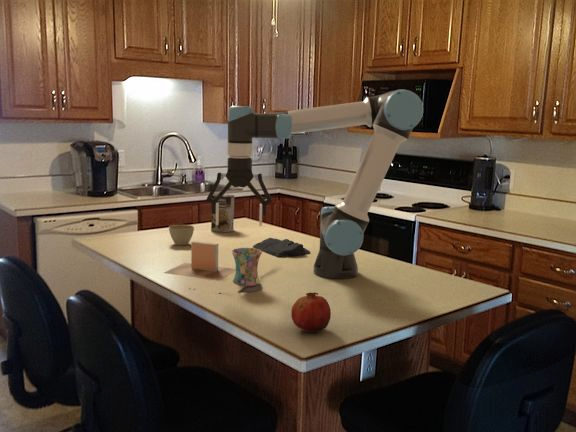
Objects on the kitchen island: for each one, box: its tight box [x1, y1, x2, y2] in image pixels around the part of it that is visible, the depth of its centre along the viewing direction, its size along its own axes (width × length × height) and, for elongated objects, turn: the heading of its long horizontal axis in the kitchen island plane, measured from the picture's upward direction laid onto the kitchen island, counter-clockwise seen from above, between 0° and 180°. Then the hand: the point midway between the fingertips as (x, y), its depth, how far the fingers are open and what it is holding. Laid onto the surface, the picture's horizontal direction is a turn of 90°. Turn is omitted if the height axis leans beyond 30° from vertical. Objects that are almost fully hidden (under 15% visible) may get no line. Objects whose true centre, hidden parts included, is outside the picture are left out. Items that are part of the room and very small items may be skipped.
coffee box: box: [210, 193, 235, 233], centre depth 266 cm, size 9×6×16 cm
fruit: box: [290, 292, 332, 333], centre depth 149 cm, size 11×10×10 cm
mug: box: [231, 247, 263, 287], centre depth 183 cm, size 12×9×11 cm
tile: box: [190, 240, 219, 271], centre depth 197 cm, size 9×2×9 cm, turn 71°
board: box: [163, 262, 236, 281], centre depth 196 cm, size 20×14×2 cm
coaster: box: [237, 282, 263, 293], centre depth 184 cm, size 11×11×1 cm
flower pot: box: [168, 224, 195, 246], centre depth 238 cm, size 10×10×7 cm
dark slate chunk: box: [252, 237, 311, 259], centre depth 233 cm, size 15×22×5 cm
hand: (238, 224), depth 186 cm, fingers open, 13 cm apart
